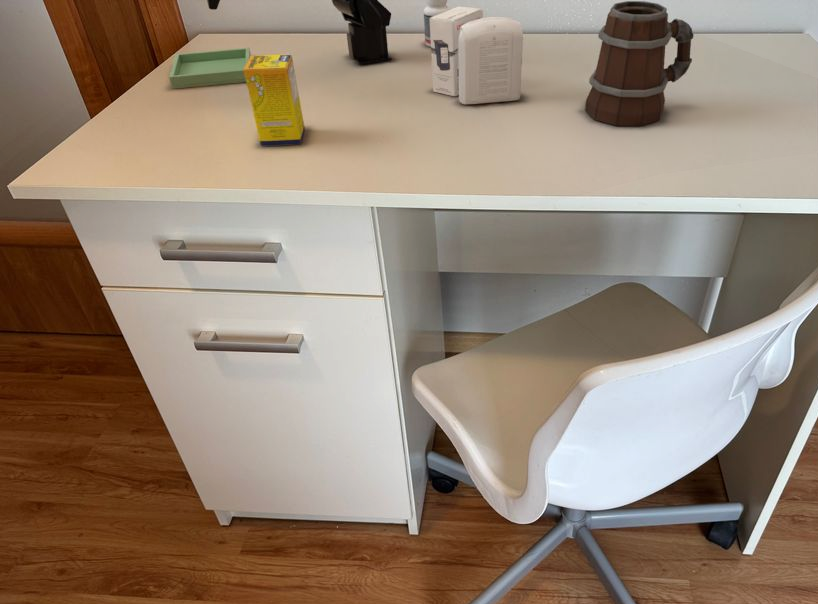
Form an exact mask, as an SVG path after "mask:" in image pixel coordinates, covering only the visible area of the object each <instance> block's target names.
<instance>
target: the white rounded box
mask: <svg viewBox="0 0 818 604" xmlns="http://www.w3.org/2000/svg"><path fill="white" fill-rule="evenodd" d="M523 47H524V34H523V26H522V23H521V22H519V21H518V20H515V19H513V18H509V17H503V16H501V17H499V16H490V17H483V18H481V19H477V20H474V21H471V22H468V23H466V24H464V25H462V26H461V27H460V33H459V39H458V49H459V95H458V101H459V102H460V104H462V105H476V104H478V105H479V104H490V103H499V102H510V101H511V102H513V101H519V100H520V99H521V91H522V89H521V88H522V69H523V68H522V67H523Z"/></svg>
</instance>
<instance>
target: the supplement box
mask: <svg viewBox="0 0 818 604" xmlns="http://www.w3.org/2000/svg"><path fill="white" fill-rule="evenodd" d="M243 70H244V74H245V78H246V82H245V83H246V86H247V92H248V95H249V100H250V104H251V109H252V113H253V117H254V123H255V127H256V131H257V136H258V140H259V144H260V146H261V147H273V146H274V147H275V146H294V145H301V144H302V143H303V137H304V134H305V129H306V128H305V127H306V126H305V122H304V121H305V120H304V116H303V111H302V106H301V99H300V95H299V89H298V84H297V78H296V72H295V66H294V60H293V55H292V54H291V53H283V54H258V55H251V56H250V58H249V60H248V62H247V64H246V66H245V68H244V69H243Z"/></svg>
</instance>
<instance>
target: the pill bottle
mask: <svg viewBox="0 0 818 604" xmlns="http://www.w3.org/2000/svg"><path fill="white" fill-rule="evenodd" d="M425 3H426V5H427V6H425V7H424V8H423V21H424V22H423V23H424V27H423V28H424V43H425V44H424V45H425V46H427V47H430V48H431V39H430V18H431V17H433V16H436V15H438V14H441V13H443V12H446V11H449V10H451V8H450V7H449V6H448V5H447V4H448V0H425Z"/></svg>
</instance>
